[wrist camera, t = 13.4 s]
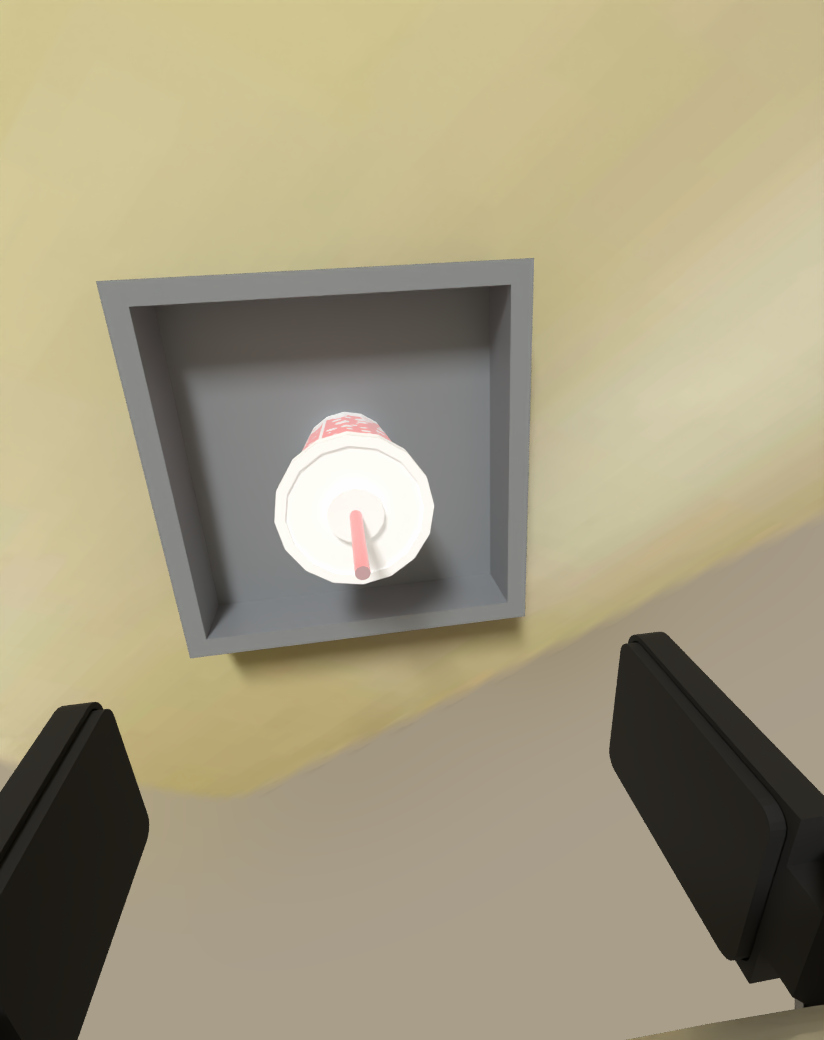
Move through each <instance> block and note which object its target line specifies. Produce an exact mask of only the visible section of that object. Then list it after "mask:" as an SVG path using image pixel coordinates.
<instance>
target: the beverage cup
mask: <svg viewBox="0 0 824 1040" xmlns="http://www.w3.org/2000/svg"><path fill="white" fill-rule="evenodd" d="M433 510H434V503H433V499H432V495H431V491H430V487H429V483H428V480H427V477H426V475H425V474H424V472H423V471H422V470H421V469H420V467H419V466H418V465H417V464H416V462H415V461H414V460H413V459H412V457H411V456H410V455H409V454H408V452H407V451H406V450H405V449H404V448H402V447H400V446H398V445H396V444H395V443H393V442H392V441H391V440H390V439H389V438H388V436H387V435H386V434H385V432H384V431H383V430H382V429H381V427H380V426H379V425H378V424H377V422H375V421H373V420H372V419H370V418H368V417H366V416H364V415H362V414H358V413H350V412H342V413H338V414H335V415H331V416H328V417H326V418H325V419H324V420H323V421H321V422H320V423H319V424H318V425H316V426H315V427H314V428H313V430H312V432H311V434H310V436H309V438H308V440H307V442H306V444H305V446H304V448H303V450H302V452H301V453H300V454H299V455H297V456H296V457H295V458H294V459H292V461H291V463H290V465H289V467H288V469H287V471H286V473H285V475H284V476H283V478H282V480H281V482H280V484H279V486H278V488H277V490H276V500H275V519H274V523H275V525H276V528H277V530H278V533H279V535H280V538H281V540H282V543H283V546H284V548H285V550H286V551H287V552H288V553H289V554H290V555H291V556H292V557H293V558H294V559H295V560H296V561H297V562H298V563H299V564H300V565H301V566H302V567H303V568H304V569H305V570H306V571H308V572H310V573H312V574H315V575H317V576H319V577H321V578H324V579H326V580H328V581H331V582H333V583H348V584H366V583H369V582H372V581H376V580H379V579H382V578H386V577H389V576H392V575H393V574H394V573H396V572H397V571H398V570H400V569H401V568H402V567H404V566H405V565H406V564H408V563H409V562H410V561H412V560H413V559H414V558H415V557H416V555H417V554H418V552H419V550H420V549H421V547H422V546H423V544H424V542H425V541H426V539H427V538H428V536H429V534H430V529H431V523H432V517H433Z"/></svg>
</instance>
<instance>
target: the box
mask: <svg viewBox="0 0 824 1040" xmlns="http://www.w3.org/2000/svg"><path fill="white" fill-rule="evenodd" d="M533 276H534V258H526V259H507V260H489V261H470V262H451V263H432V264H413V265H394V266H375V267H356V268H337V269H318V270H299V271H280V272H262V273H243V274H224V275H205V276H186V277H167V278H148V279H129V280H110V281H96V283H97V287H98V291H99V295H100V299H101V303H102V307H103V311H104V315H105V319H106V323H107V327H108V331H109V335H110V339H111V343H112V347H113V351H114V355H115V359H116V363H117V367H118V371H119V375H120V379H121V383H122V387H123V391H124V395H125V399H126V403H127V407H128V411H129V415H130V419H131V423H132V427H133V431H134V435H135V439H136V443H137V447H138V451H139V455H140V459H141V463H142V467H143V471H144V475H145V479H146V483H147V487H148V491H149V495H150V499H151V503H152V507H153V511H154V515H155V519H156V523H157V527H158V531H159V535H160V539H161V543H162V547H163V551H164V555H165V559H166V563H167V567H168V571H169V575H170V579H171V583H172V587H173V591H174V595H175V599H176V603H177V607H178V611H179V615H180V619H181V623H182V627H183V631H184V635H185V639H186V643H187V647H188V651H189V655H190V658H196V657H204V656H212V655H220V654H228V653H236V652H244V651H252V650H260V649H268V648H276V647H284V646H292V645H300V644H308V643H316V642H324V641H332V640H340V639H348V638H355V637H363V636H371V635H379V634H387V633H395V632H403V631H411V630H419V629H427V628H435V627H443V626H451V625H459V624H467V623H475V622H483V621H491V620H499V619H507V618H514V617H522V616H525V588H526V549H527V510H528V471H529V432H530V393H531V354H532V315H533ZM342 412H350V413H358V414H362V415H364V416H366V417H368V418H370V419H372V420H373V421H375V422H377V424H378V425H379V426H380V427H381V429H382V430H383V431H384V432H385V434H386V435H387V436H388V438H389V439H390V440H391V441H392V442H393V443H395V444H396V445H398V446H400V447H402V448H404V449H405V450H406V451H407V452H408V454H409V455H410V456H411V457H412V459H413V460H414V461H415V462H416V464H417V465H418V466H419V467H420V469H421V470H422V471H423V472H424V474H425V475H426V477H427V480H428V483H429V487H430V491H431V495H432V499H433V503H434V510H433V517H432V523H431V529H430V534H429V536H428V538H427V539H426V541H425V542H424V544H423V546H422V547H421V549H420V550H419V552H418V554H417V555H416V557H415V558H414V559H413V560H412V561H410V562H409V563H408V564H406V565H405V566H404V567H402V568H401V569H400V570H398V571H397V572H396V573H394V574H393V575H392V576H389V577H386V578H382V579H379V580H376V581H372V582H369V583H366V584H348V583H333V582H331V581H328V580H326V579H324V578H321V577H319V576H317V575H315V574H312V573H310V572H308V571H306V570H305V569H304V568H303V567H302V566H301V565H300V564H299V563H298V562H297V561H296V560H295V559H294V558H293V557H292V556H291V555H290V554H289V553H288V552H287V551H286V550H285V548H284V546H283V543H282V540H281V538H280V535H279V533H278V530H277V528H276V525H275V523H274V519H275V500H276V490H277V488H278V486H279V484H280V482H281V480H282V478H283V476H284V475H285V473H286V471H287V469H288V467H289V465H290V463H291V461H292V459H294V458H295V457H296V456H297V455H299V454H300V453H301V452H302V450H303V448H304V446H305V444H306V442H307V440H308V438H309V436H310V434H311V432H312V430H313V428H314V427H315V426H316V425H318V424H319V423H320V422H321V421H323V420H324V419H325V418H326V417H328V416H331V415H335V414H338V413H342Z"/></svg>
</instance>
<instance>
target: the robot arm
mask: <svg viewBox="0 0 824 1040" xmlns="http://www.w3.org/2000/svg"><path fill="white" fill-rule="evenodd" d="M617 678H618V679H617V687H616V695H615V704H614V713H613V722H612V730H611V739H610V748H609V754H610V759H611V763H612V766H613V768H614V770H615V772H616V774H617V775H618V777H619V779H620V781H621V782H622V784H623V786H624V788H625V789H626V791H627V793H628V794H629V796H630V798H631V800H632V801H633V803H634V805H635V806H636V808H637V810H638V811H639V813H640V815H641V817H642V818H643V820H644V822H645V823H646V825H647V827H648V828H649V830H650V832H651V834H652V835H653V837H654V839H655V841H656V842H657V844H658V846H659V847H660V849H661V851H662V853H663V854H664V856H665V858H666V859H667V861H668V863H669V865H670V866H671V868H672V870H673V871H674V873H675V875H676V877H677V878H678V880H679V882H680V883H681V885H682V887H683V888H684V890H685V892H686V894H687V895H688V897H689V898H690V901H691V902H692V904H693V906H694V907H695V909H696V911H697V913H698V914H699V916H700V918H701V919H702V921H703V923H704V925H705V926H706V928H707V930H708V931H709V933H710V935H711V937H712V938H713V940H714V942H715V943H716V945H717V947H718V948H719V950H720V951H721V953H722V954H723V955H724V956H725V957H726V958H727V959H728V960H735V961H736V962H737V964H738V966H739V967H740V969H741V971H742V972H743V974H744V976H745V977H746V979H747V980H748V982H749V983H756V982H761V981H766V980H771V979H776V978H780V979H781V980H782V982H783V983H784V985H785V986H786V988H787V989H788V991H789V992H790V994H791V996H792V997H793V998H795V1009H794V1010H788V1011H782V1012H776V1013H771V1014H765V1015H759V1016H753V1017H747V1018H741V1019H735V1020H729V1021H723V1022H717V1023H711V1024H706V1025H701V1026H696V1027H691V1028H685V1029H681V1030H675V1031H670V1032H664V1033H660V1034H654V1035H649V1036H644V1037H639V1038H633V1039H628V1040H824V795H823V794H821V793H820V791H818V789H817V788H816V787H815V786H814V785H813V784H812V783H811V782H810V781H809V780H808V779H807V778H806V777H805V776H804V775H803V774H802V773H801V772H800V771H799V770H798V769H797V768H796V767H795V766H794V765H793V764H792V763H791V761H790V760H789V759H788V758H787V757H786V756H785V755H784V754H783V753H782V752H781V751H780V750H779V749H778V748H777V747H776V746H775V745H774V744H773V743H772V742H771V741H770V740H769V739H768V738H767V737H766V736H765V735H764V734H763V733H762V732H761V731H760V730H759V729H758V728H757V727H756V726H755V724H754V723H753V722H752V721H751V720H750V719H749V718H748V717H747V716H746V715H745V714H744V713H743V712H742V711H741V710H740V709H739V708H738V707H737V706H736V705H735V704H734V703H733V702H732V701H731V700H730V699H729V698H728V697H727V696H726V695H725V694H724V693H723V692H722V691H721V690H720V689H719V687H717V685H716V684H715V683H714V682H713V681H712V680H711V679H710V678H709V677H708V676H707V675H706V674H705V673H704V672H703V671H702V670H701V669H700V668H699V667H698V666H697V665H696V664H695V663H694V662H693V661H692V660H691V659H690V658H689V657H688V656H687V655H686V654H685V652H684V651H682V649H680V647H679V646H678V645H677V644H675V642H674V641H673V640H672V639H671V638H670V637H669V636H668V635H667V634H665V633H664V632H653V633H645V634H637V635H633V636H631V637H630V639H629V641H628V644H624V645H622V647H621V651H620V661H619V669H618V677H617ZM148 832H149V818H148V814H147V811H146V808H145V806H144V803H143V800H142V797H141V794H140V791H139V788H138V785H137V782H136V779H135V776H134V773H133V770H132V767H131V764H130V761H129V758H128V755H127V752H126V749H125V746H124V744H123V741H122V738H121V735H120V732H119V729H118V726H117V723H116V720H115V717H114V714H113V712H112V711H111V710H110V709H104V710H103V708H102V706H101V705H100V704H99V703H98V702H91V703H83V704H75V705H67V706H62V707H59V708H58V709H57V710H56V711H55V712H54V714H53V715H52V717H51V718H50V719H49V721H48V722H47V724H46V725H45V727H44V728H43V730H42V731H41V733H40V734H39V736H38V737H37V739H36V740H35V742H34V743H33V745H32V746H31V748H30V749H29V750H28V752H27V753H26V755H25V756H24V758H23V759H22V761H21V762H20V764H19V765H18V767H17V768H16V770H15V771H14V773H13V774H12V776H11V777H10V779H9V780H8V781H7V783H6V784H5V786H4V787H3V789H2V790H1V792H0V1040H77V1039H78V1036H79V1034H80V1031H81V1028H82V1025H83V1022H84V1019H85V1016H86V1014H87V1011H88V1008H89V1005H90V1002H91V999H92V996H93V994H94V991H95V988H96V985H97V982H98V979H99V976H100V973H101V971H102V967H103V965H104V962H105V959H106V956H107V953H108V950H109V948H110V945H111V942H112V939H113V936H114V933H115V930H116V927H117V925H118V922H119V919H120V916H121V913H122V910H123V907H124V905H125V902H126V899H127V896H128V893H129V890H130V887H131V884H132V881H133V879H134V876H135V873H136V870H137V867H138V864H139V861H140V858H141V856H142V853H143V850H144V847H145V844H146V841H147V838H148Z"/></svg>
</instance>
